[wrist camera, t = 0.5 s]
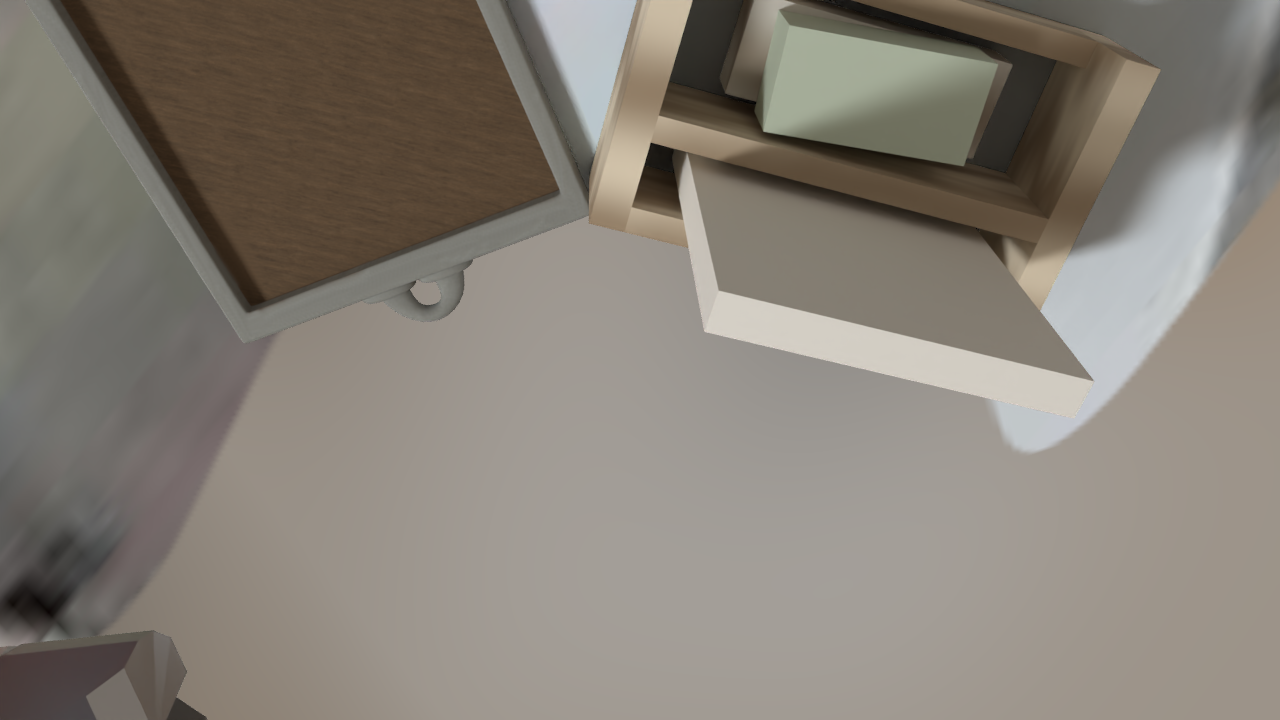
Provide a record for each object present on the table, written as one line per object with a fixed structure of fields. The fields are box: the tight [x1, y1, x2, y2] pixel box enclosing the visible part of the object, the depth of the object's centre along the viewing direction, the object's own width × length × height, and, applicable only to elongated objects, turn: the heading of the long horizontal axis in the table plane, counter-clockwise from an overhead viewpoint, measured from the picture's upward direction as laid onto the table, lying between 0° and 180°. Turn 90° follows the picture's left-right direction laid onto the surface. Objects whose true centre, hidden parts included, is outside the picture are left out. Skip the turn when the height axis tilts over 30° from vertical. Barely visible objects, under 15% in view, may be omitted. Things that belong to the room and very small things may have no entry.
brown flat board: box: [25, 0, 589, 343], centre depth 50 cm, size 19×2×30 cm
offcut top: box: [754, 10, 998, 166], centre depth 49 cm, size 4×9×3 cm, turn 79°
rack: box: [589, 0, 1161, 311], centre depth 50 cm, size 13×21×6 cm, turn 74°
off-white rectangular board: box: [672, 149, 1094, 418], centre depth 47 cm, size 2×14×18 cm, turn 74°
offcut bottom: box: [720, 0, 1013, 159], centre depth 51 cm, size 4×12×3 cm, turn 75°
